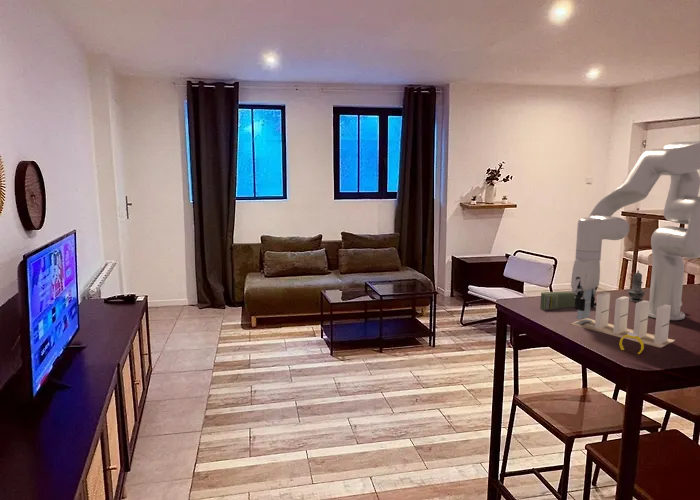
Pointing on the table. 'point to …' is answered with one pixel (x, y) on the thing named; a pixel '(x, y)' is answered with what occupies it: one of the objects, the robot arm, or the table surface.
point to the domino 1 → (586, 312)
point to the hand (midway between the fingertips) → (584, 307)
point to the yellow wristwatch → (632, 335)
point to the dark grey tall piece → (636, 288)
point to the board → (609, 330)
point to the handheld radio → (557, 300)
